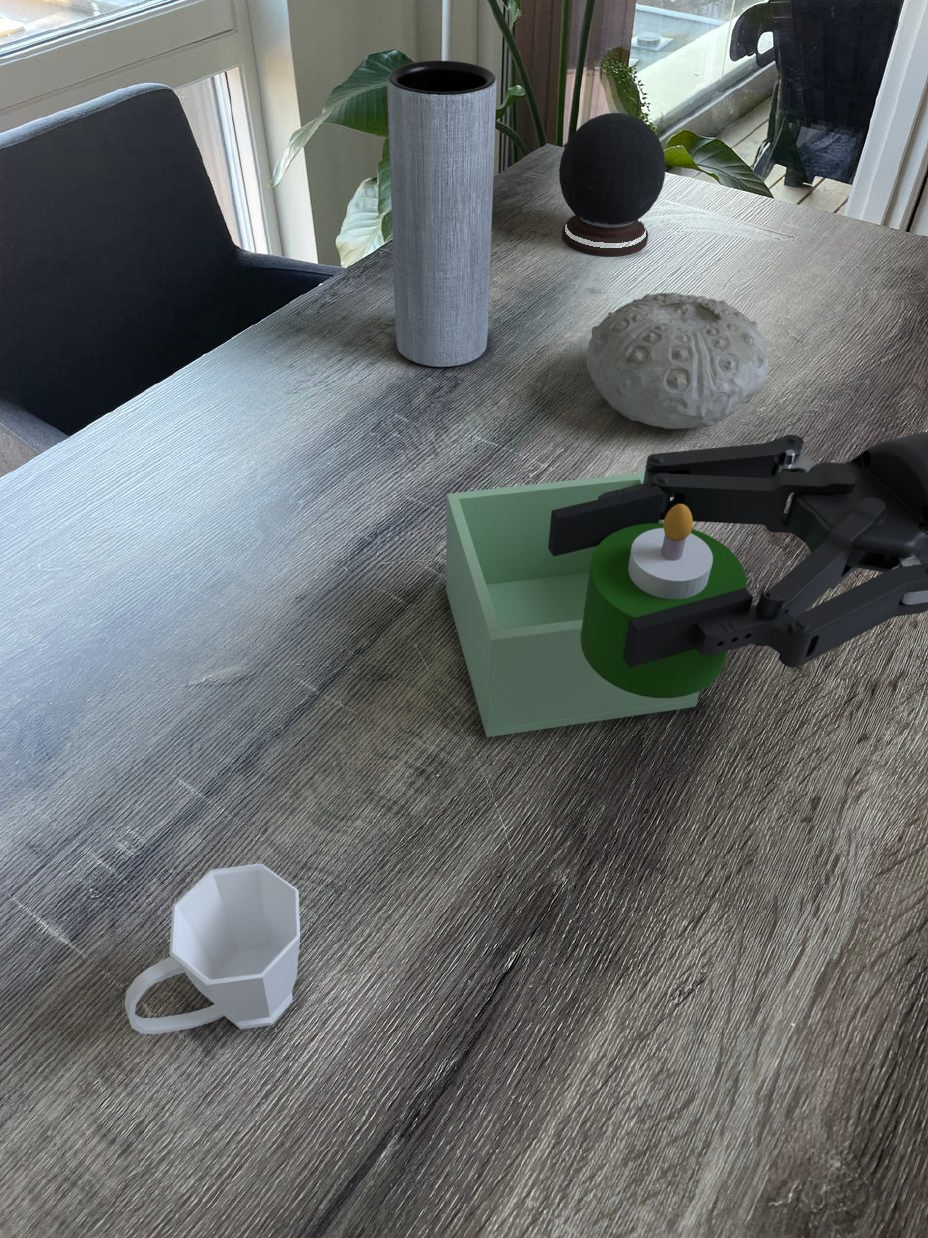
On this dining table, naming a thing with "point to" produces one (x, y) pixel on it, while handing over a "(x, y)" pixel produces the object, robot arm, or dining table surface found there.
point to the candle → (654, 600)
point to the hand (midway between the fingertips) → (589, 585)
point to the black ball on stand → (611, 182)
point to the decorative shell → (677, 360)
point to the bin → (530, 609)
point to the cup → (229, 950)
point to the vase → (441, 208)
